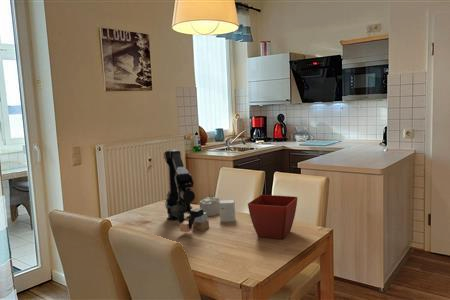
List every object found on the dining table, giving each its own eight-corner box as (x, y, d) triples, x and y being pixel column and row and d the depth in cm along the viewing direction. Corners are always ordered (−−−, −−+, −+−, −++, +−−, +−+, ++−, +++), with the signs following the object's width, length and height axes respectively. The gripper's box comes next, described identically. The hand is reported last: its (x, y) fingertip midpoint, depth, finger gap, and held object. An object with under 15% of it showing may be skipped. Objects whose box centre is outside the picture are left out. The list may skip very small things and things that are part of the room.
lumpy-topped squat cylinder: (198, 212, 233) (197, 198, 232) (217, 208, 239) (216, 194, 238) (206, 216, 224) (205, 202, 223) (226, 212, 230) (225, 198, 229)
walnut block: (178, 225, 212) (178, 218, 211) (181, 222, 215) (180, 215, 215) (186, 225, 211) (185, 218, 210) (188, 223, 215) (187, 215, 214)
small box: (235, 218, 218) (234, 199, 217) (234, 221, 213) (234, 202, 211) (221, 218, 219) (220, 200, 218) (220, 221, 214) (219, 203, 212)
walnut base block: (192, 229, 204) (192, 222, 203) (199, 226, 209) (199, 218, 208) (202, 231, 201) (202, 223, 200) (209, 227, 206) (208, 220, 205)
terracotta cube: (180, 231, 196) (179, 223, 196) (185, 228, 200) (185, 220, 199) (187, 232, 194) (186, 224, 193) (192, 229, 198) (192, 221, 197)
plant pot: (262, 225, 203) (261, 194, 201) (298, 229, 195) (298, 196, 193) (248, 238, 186) (246, 203, 184) (287, 243, 178) (286, 206, 176)
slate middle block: (193, 221, 204) (193, 214, 203) (199, 219, 208) (198, 211, 207) (201, 222, 201) (201, 215, 201) (207, 220, 205) (206, 212, 205)
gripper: (159, 199, 193) (161, 230, 195) (189, 203, 183) (191, 236, 185) (173, 194, 202) (175, 224, 204) (203, 197, 192) (205, 228, 195)
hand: (186, 228), depth 197 cm, fingers closed on terracotta cube, 4 cm apart
